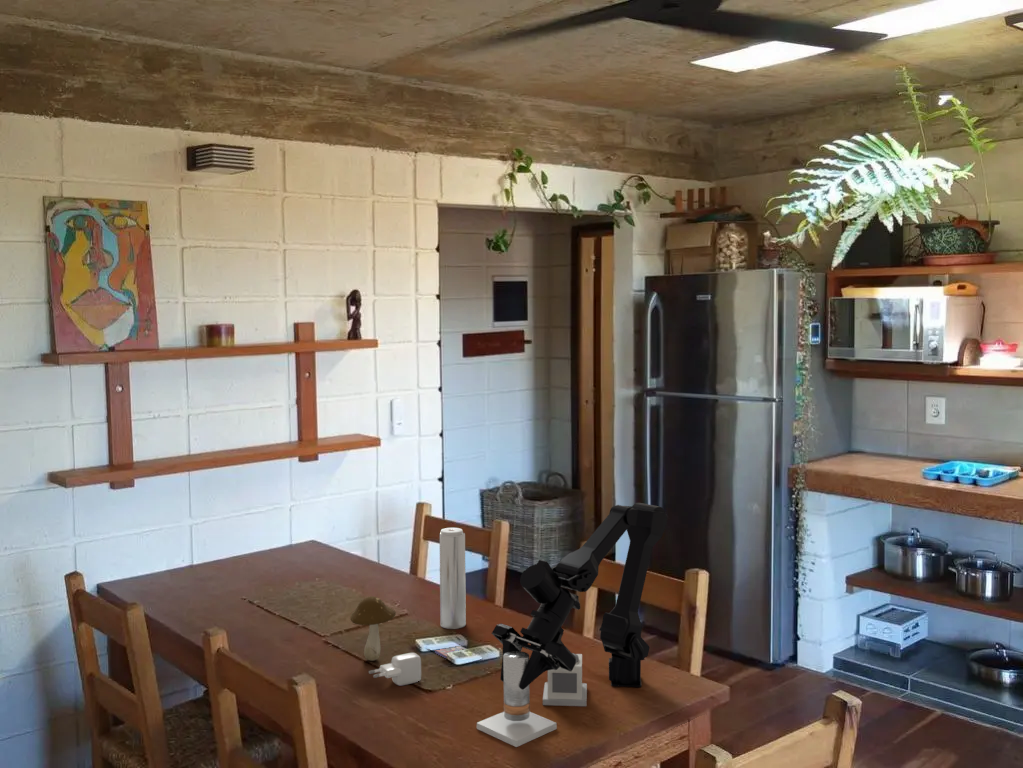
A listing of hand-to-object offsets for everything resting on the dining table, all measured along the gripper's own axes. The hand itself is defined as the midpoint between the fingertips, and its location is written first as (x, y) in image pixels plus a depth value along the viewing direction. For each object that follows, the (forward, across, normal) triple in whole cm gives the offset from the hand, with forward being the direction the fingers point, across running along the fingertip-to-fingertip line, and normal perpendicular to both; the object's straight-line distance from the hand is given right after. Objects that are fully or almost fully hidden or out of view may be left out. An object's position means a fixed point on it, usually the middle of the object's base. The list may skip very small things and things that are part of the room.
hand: (511, 684), depth 187 cm
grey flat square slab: (+6, 0, -7) cm, 9 cm away
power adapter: (+8, +34, -5) cm, 36 cm away
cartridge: (+4, 0, -6) cm, 7 cm away
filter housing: (-7, +4, -20) cm, 22 cm away
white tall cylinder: (-16, +55, -29) cm, 64 cm away
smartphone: (-6, +40, -20) cm, 45 cm away
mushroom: (+4, +50, -9) cm, 50 cm away
